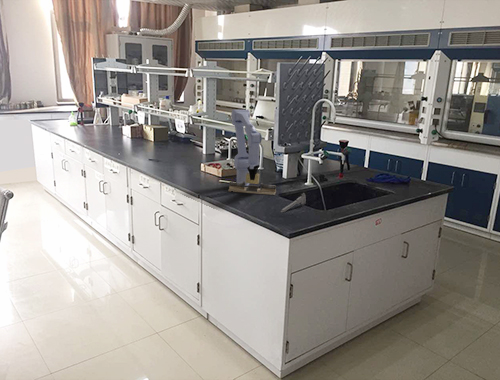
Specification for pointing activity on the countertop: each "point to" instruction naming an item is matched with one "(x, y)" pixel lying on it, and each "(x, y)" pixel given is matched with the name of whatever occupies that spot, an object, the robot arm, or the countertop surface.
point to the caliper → (296, 202)
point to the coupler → (252, 180)
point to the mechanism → (252, 188)
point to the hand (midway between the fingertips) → (252, 179)
